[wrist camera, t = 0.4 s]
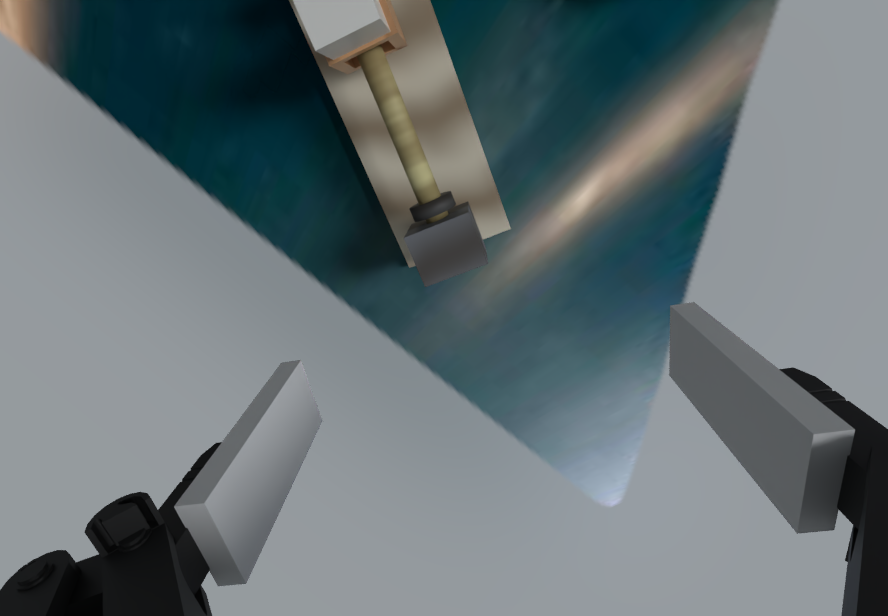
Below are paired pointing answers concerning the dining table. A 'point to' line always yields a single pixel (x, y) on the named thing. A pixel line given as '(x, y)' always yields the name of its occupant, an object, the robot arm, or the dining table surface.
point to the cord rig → (420, 146)
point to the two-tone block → (350, 29)
